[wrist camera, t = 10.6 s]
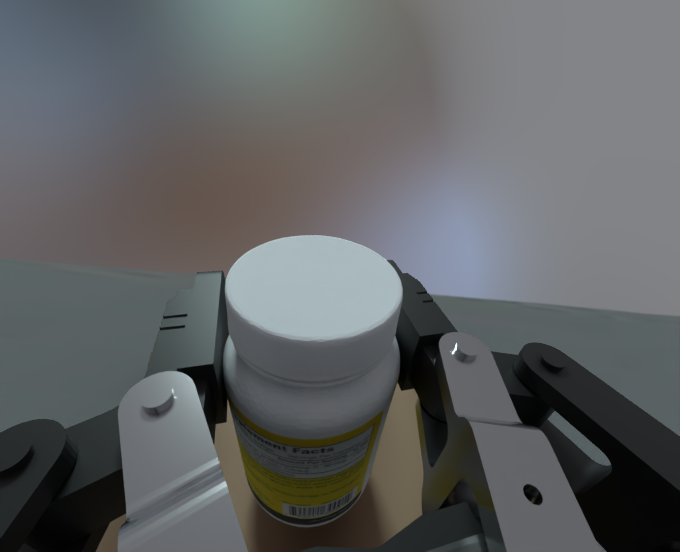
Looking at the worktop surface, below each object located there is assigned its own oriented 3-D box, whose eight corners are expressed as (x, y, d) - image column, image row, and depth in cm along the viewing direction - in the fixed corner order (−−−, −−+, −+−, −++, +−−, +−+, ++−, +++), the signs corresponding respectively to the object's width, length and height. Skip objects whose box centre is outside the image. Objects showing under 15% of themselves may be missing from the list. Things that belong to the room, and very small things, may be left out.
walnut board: (-7, 980, 6) (-45, 1015, 5) (156, 366, 16) (151, 352, 16) (577, 676, 9) (598, 673, 9) (396, 334, 20) (399, 322, 19)
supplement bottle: (303, 379, 14) (306, 213, 10) (392, 441, 12) (453, 269, 8) (216, 467, 11) (155, 280, 6) (318, 572, 9) (344, 413, 4)
